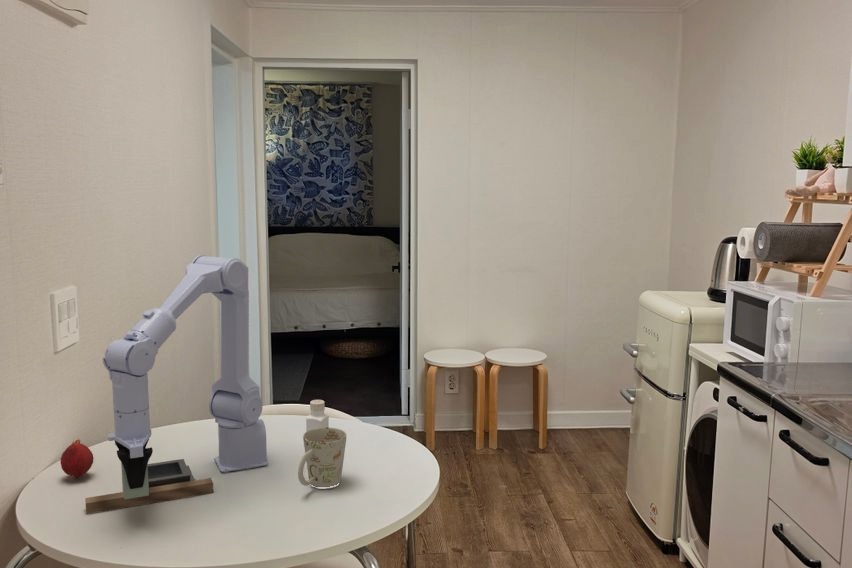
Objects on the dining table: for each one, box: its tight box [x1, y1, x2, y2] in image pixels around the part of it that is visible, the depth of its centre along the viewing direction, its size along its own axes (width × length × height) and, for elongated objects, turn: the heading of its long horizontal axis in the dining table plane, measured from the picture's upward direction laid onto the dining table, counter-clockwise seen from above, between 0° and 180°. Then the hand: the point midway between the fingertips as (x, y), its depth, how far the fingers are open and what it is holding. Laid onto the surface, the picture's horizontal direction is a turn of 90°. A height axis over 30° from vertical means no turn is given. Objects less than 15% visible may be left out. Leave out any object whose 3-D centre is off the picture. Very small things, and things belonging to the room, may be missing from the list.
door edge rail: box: [84, 477, 214, 515], centre depth 137 cm, size 22×2×2 cm, turn 116°
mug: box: [297, 427, 347, 487], centre depth 144 cm, size 8×13×10 cm, turn 155°
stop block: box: [120, 462, 149, 499], centre depth 131 cm, size 4×4×6 cm
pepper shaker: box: [305, 399, 330, 433], centre depth 167 cm, size 4×4×10 cm
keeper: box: [148, 458, 196, 488], centre depth 145 cm, size 11×11×3 cm
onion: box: [59, 438, 95, 479], centre depth 146 cm, size 6×6×8 cm
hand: (135, 482), depth 131 cm, fingers closed on stop block, 4 cm apart
